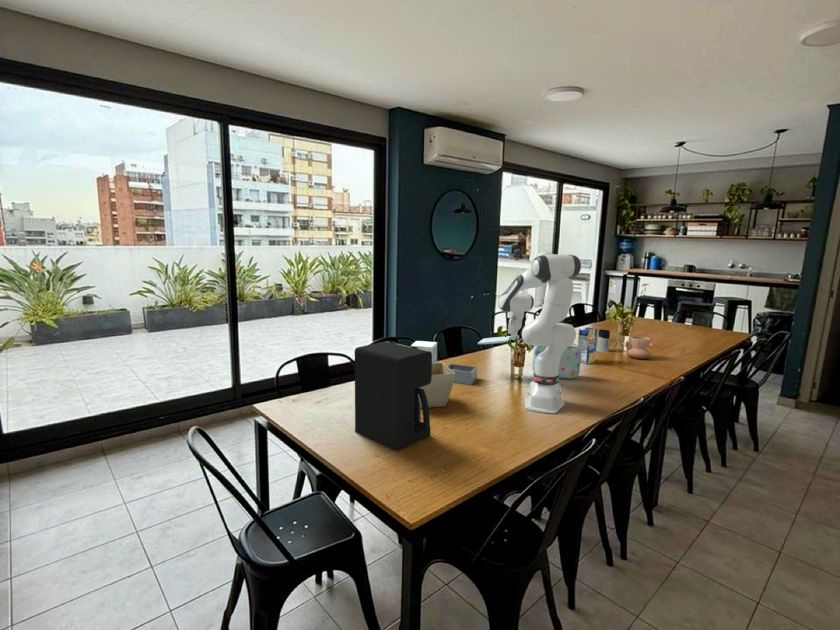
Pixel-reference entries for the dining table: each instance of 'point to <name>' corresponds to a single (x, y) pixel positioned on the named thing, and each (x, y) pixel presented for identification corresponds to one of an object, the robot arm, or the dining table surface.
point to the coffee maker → (392, 393)
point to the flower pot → (439, 385)
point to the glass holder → (604, 341)
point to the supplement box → (427, 348)
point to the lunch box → (564, 361)
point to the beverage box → (587, 344)
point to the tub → (464, 373)
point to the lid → (497, 340)
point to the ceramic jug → (639, 347)
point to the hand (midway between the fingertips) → (514, 338)
